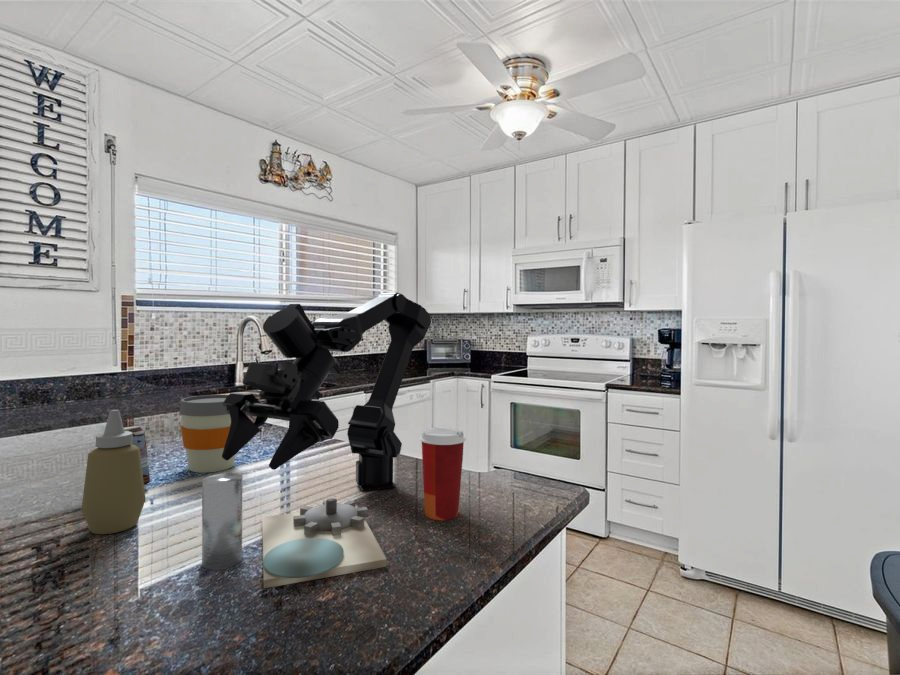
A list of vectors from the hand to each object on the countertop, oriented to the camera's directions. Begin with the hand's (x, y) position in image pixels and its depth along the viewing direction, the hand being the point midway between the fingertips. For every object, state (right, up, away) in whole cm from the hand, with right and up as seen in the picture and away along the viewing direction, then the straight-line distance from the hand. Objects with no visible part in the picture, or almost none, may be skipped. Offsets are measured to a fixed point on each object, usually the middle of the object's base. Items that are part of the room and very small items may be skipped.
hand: (247, 463), depth 66 cm
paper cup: (+27, -12, +14) cm, 33 cm away
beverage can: (-32, -11, +22) cm, 40 cm away
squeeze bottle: (-23, -12, +7) cm, 27 cm away
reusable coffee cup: (-24, -11, +38) cm, 47 cm away
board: (+9, -12, +2) cm, 15 cm away
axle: (-2, -12, -3) cm, 13 cm away
